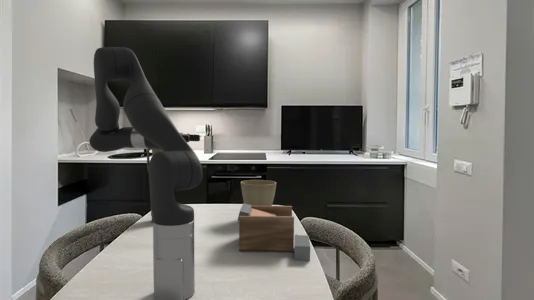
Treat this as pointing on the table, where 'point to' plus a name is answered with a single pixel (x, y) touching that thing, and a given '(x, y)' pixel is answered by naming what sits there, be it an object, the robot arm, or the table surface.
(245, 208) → the trapdoor
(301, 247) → the basalt block
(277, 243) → the walnut frame
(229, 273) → the table surface
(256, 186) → the plant pot
